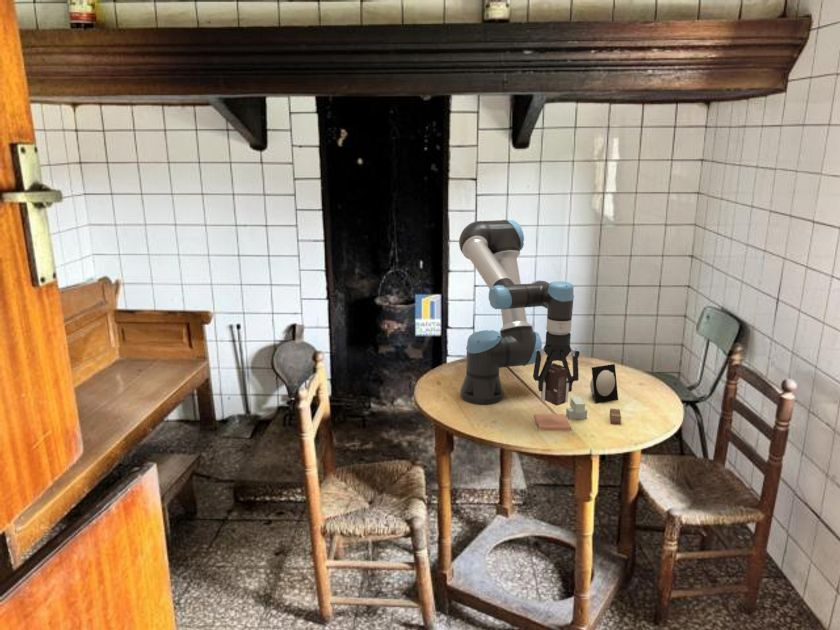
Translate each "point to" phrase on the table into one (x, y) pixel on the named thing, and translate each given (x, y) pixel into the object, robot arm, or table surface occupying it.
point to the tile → (552, 422)
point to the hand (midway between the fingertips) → (554, 400)
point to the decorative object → (604, 383)
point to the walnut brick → (615, 416)
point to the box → (556, 384)
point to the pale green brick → (577, 404)
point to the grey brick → (575, 414)
